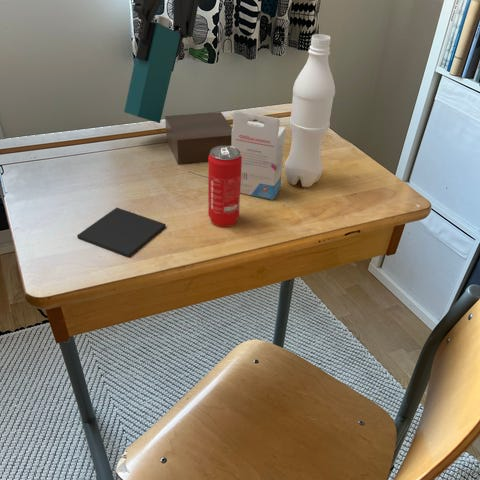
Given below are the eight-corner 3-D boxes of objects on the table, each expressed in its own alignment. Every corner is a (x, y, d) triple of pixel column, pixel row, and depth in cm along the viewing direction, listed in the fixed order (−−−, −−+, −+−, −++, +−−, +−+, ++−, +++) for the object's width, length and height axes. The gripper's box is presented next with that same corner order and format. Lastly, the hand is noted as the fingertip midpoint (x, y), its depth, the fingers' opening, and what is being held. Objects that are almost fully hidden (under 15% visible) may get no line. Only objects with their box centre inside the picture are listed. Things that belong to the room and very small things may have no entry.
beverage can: (210, 229, 85) (211, 160, 76) (206, 212, 88) (206, 145, 80) (241, 226, 86) (245, 158, 77) (235, 210, 89) (238, 144, 81)
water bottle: (278, 185, 96) (293, 39, 79) (288, 169, 102) (304, 28, 85) (315, 193, 95) (339, 45, 78) (323, 176, 100) (347, 34, 83)
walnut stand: (166, 139, 109) (165, 116, 106) (220, 134, 112) (220, 111, 109) (178, 164, 101) (177, 140, 98) (236, 158, 104) (237, 134, 101)
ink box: (280, 188, 96) (289, 108, 86) (273, 201, 92) (281, 119, 82) (238, 179, 98) (241, 100, 88) (229, 191, 94) (231, 110, 84)
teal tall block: (182, 25, 100) (167, 22, 102) (160, 13, 95) (145, 11, 97) (160, 123, 106) (146, 118, 108) (137, 116, 101) (123, 112, 103)
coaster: (77, 238, 81) (77, 235, 81) (117, 210, 88) (116, 207, 87) (129, 257, 78) (128, 254, 77) (165, 227, 84) (165, 223, 84)
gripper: (159, -99, 84) (128, 52, 92) (232, -44, 99) (200, 81, 106) (131, -99, 88) (104, 46, 96) (205, -46, 103) (176, 75, 110)
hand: (154, 64), depth 101 cm, fingers closed on teal tall block, 6 cm apart
